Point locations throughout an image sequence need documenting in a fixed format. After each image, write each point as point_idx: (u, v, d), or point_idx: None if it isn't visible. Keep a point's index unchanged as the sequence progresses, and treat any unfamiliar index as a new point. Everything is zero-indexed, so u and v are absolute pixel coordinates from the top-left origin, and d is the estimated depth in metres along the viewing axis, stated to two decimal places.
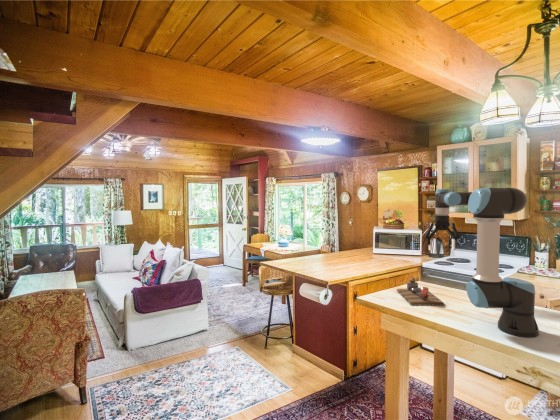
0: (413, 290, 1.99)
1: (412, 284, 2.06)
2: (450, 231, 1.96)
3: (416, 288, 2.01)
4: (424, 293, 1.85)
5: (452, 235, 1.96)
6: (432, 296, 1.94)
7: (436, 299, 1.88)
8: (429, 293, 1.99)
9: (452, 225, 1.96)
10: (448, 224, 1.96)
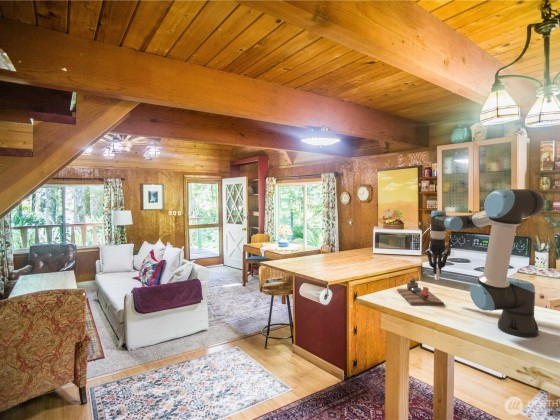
0: (413, 290, 1.99)
1: (412, 284, 2.06)
2: (440, 258, 1.85)
3: (416, 288, 2.01)
4: (424, 293, 1.85)
5: (439, 262, 1.85)
6: (432, 296, 1.94)
7: (436, 299, 1.88)
8: (429, 293, 1.99)
9: (446, 252, 1.84)
10: (444, 248, 1.84)
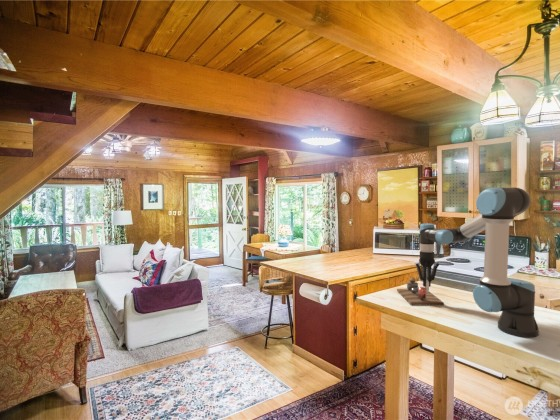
0: (413, 290, 2.00)
1: (412, 284, 2.06)
2: (430, 270, 1.86)
3: (416, 288, 2.01)
4: (421, 293, 1.86)
5: (429, 275, 1.86)
6: (432, 296, 1.94)
7: (436, 299, 1.88)
8: (429, 293, 1.99)
9: (436, 265, 1.85)
10: (433, 261, 1.85)
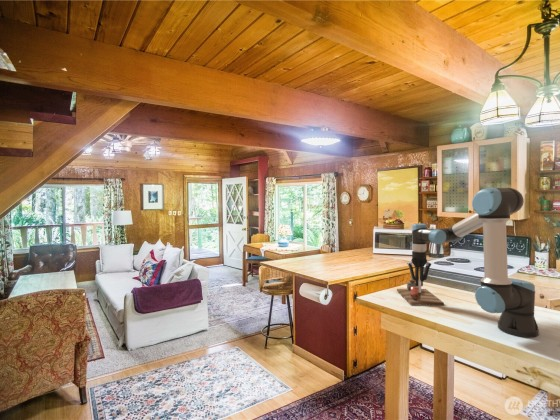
0: None
1: (412, 284, 2.06)
2: (422, 270, 1.87)
3: None
4: (412, 292, 1.87)
5: (421, 275, 1.87)
6: (432, 296, 1.94)
7: (436, 299, 1.88)
8: (429, 293, 1.99)
9: (428, 264, 1.86)
10: (425, 261, 1.86)
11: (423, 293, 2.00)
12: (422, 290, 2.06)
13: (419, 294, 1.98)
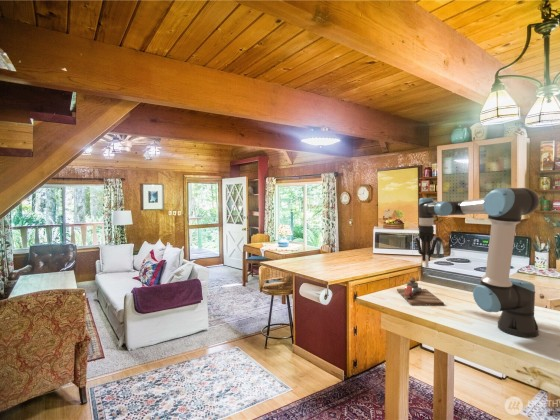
0: None
1: (412, 284, 2.06)
2: (429, 245, 1.86)
3: (416, 288, 2.01)
4: (406, 291, 1.89)
5: (428, 249, 1.86)
6: (432, 296, 1.94)
7: (436, 299, 1.88)
8: (429, 293, 1.99)
9: (435, 239, 1.85)
10: (432, 235, 1.85)
11: (423, 293, 2.00)
12: (422, 290, 2.06)
13: (419, 294, 1.98)
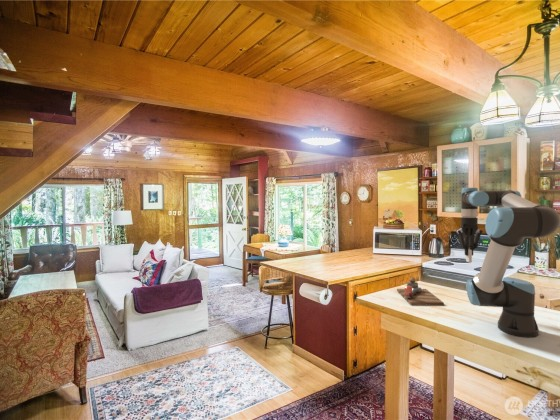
0: None
1: (412, 284, 2.06)
2: (473, 238, 1.73)
3: (416, 288, 2.01)
4: (406, 291, 1.89)
5: (471, 243, 1.73)
6: (432, 296, 1.94)
7: (436, 299, 1.88)
8: (429, 293, 1.99)
9: (479, 231, 1.72)
10: (476, 228, 1.72)
11: (423, 293, 2.00)
12: (422, 290, 2.06)
13: (419, 294, 1.98)
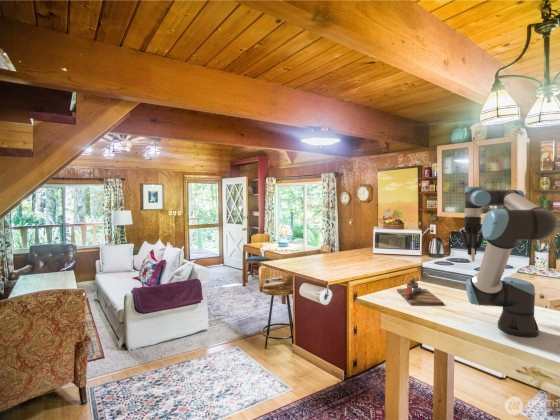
0: None
1: (412, 284, 2.06)
2: (476, 237, 1.72)
3: (416, 288, 2.01)
4: (406, 291, 1.89)
5: (474, 242, 1.72)
6: (432, 296, 1.94)
7: (436, 299, 1.88)
8: (429, 293, 1.99)
9: None
10: (480, 227, 1.72)
11: (423, 293, 2.00)
12: (422, 290, 2.06)
13: (419, 294, 1.98)
